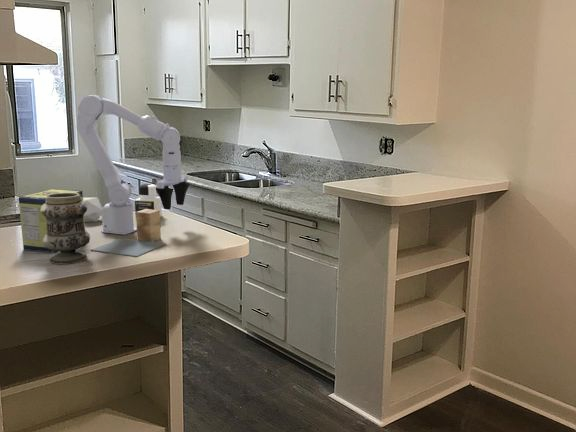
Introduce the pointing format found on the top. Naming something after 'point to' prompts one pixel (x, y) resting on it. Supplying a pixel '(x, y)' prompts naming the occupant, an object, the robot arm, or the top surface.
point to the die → (92, 209)
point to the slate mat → (128, 247)
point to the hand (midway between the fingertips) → (173, 206)
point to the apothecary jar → (65, 227)
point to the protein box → (37, 219)
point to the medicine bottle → (148, 199)
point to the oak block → (148, 225)
